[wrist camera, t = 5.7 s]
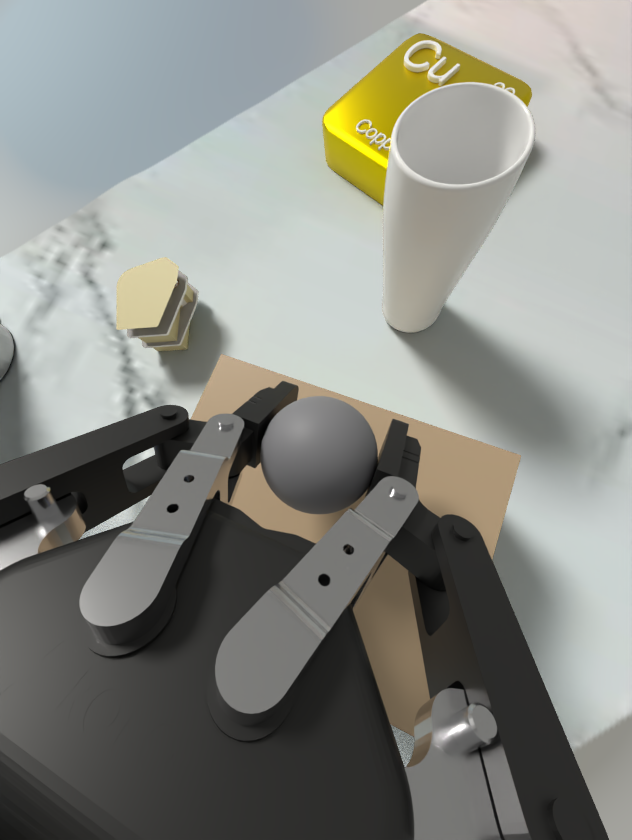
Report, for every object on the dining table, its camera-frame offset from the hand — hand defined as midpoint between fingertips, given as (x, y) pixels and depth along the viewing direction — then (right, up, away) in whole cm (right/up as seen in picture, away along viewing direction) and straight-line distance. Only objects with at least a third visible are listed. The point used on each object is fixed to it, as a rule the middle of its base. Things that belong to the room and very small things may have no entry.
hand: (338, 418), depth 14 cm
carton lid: (-1, -6, +3) cm, 7 cm away
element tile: (+10, +29, +20) cm, 37 cm away
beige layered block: (-15, +10, +19) cm, 27 cm away
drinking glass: (+8, +10, +16) cm, 20 cm away
